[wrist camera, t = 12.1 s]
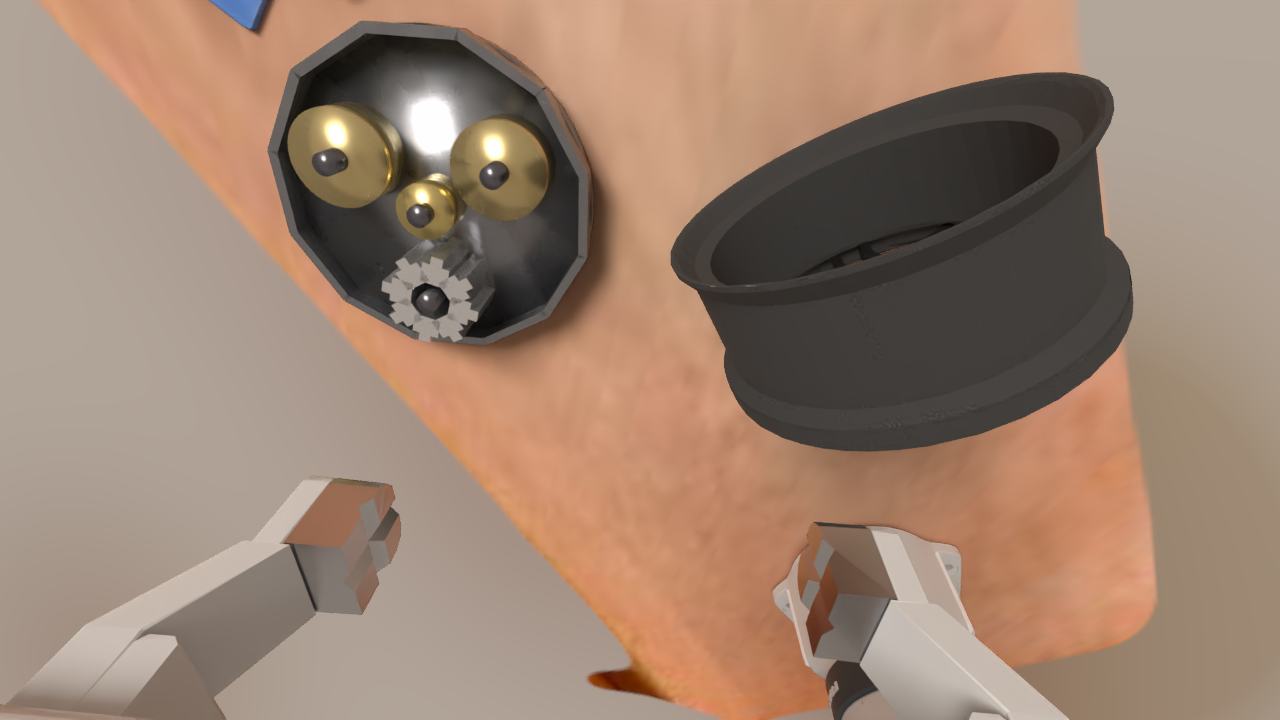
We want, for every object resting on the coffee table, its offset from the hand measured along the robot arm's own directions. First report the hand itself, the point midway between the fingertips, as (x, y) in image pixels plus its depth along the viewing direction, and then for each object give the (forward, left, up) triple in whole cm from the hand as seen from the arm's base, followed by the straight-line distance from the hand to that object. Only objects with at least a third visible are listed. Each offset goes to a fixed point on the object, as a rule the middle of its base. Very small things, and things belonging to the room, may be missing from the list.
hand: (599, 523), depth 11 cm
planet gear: (0, +17, -30) cm, 34 cm away
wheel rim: (-7, -10, -31) cm, 34 cm away
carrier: (+5, +14, -31) cm, 34 cm away
